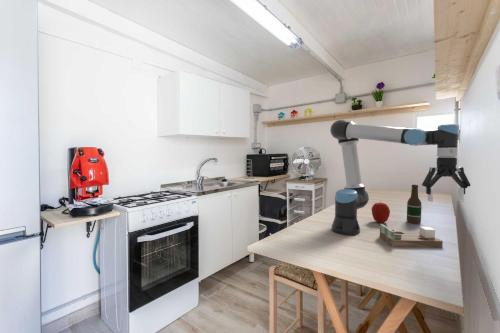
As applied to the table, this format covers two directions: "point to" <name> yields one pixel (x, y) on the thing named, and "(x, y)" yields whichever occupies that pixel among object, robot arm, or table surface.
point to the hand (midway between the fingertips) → (445, 201)
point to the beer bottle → (414, 207)
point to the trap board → (407, 238)
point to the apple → (380, 212)
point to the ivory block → (427, 232)
